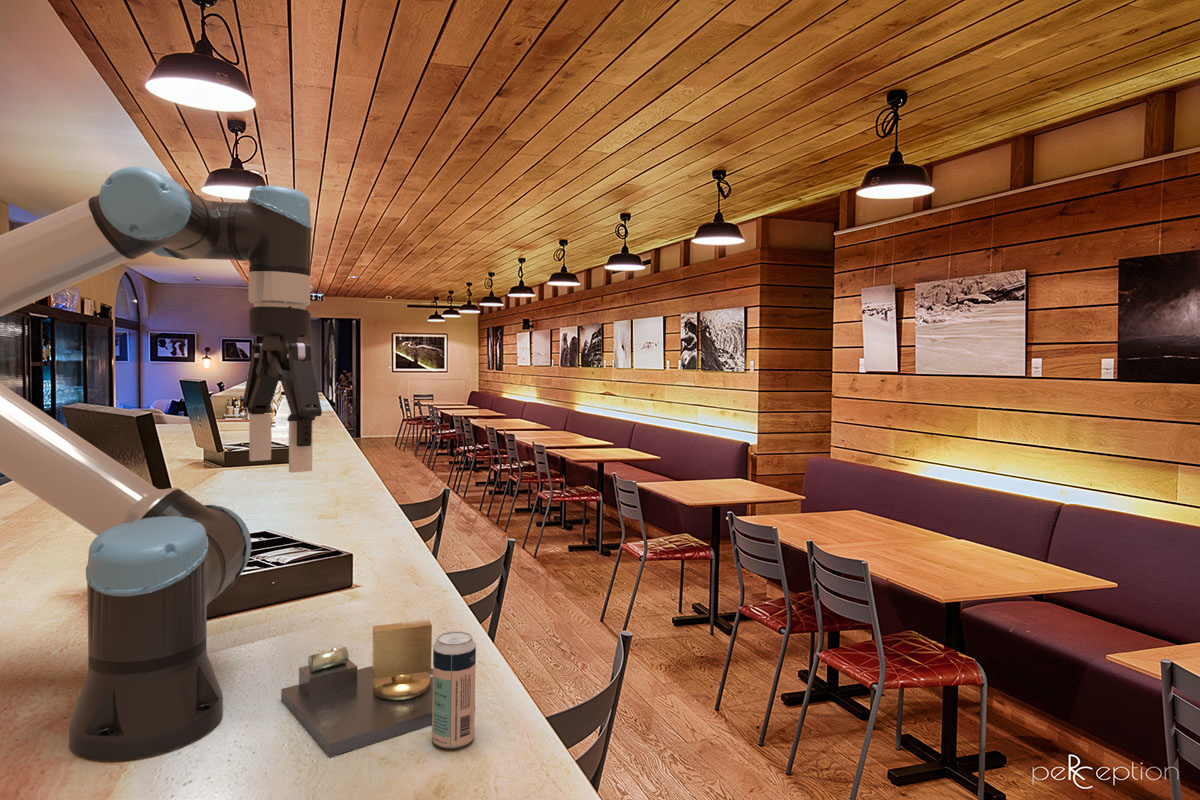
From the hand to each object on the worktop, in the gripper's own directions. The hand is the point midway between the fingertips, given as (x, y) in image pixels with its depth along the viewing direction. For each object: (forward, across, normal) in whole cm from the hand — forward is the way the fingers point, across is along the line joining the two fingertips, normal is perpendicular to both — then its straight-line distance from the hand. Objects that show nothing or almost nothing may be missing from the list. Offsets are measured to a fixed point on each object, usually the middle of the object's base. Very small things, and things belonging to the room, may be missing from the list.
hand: (279, 465), depth 99 cm
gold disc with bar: (+27, -18, -8) cm, 33 cm away
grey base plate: (+29, -17, -6) cm, 34 cm away
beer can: (+29, -31, -8) cm, 43 cm away
